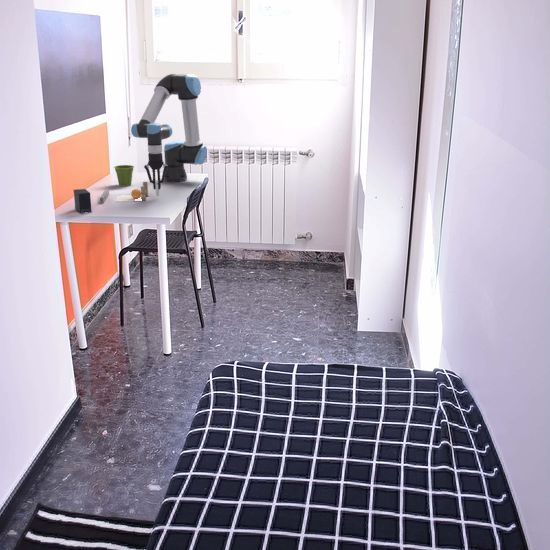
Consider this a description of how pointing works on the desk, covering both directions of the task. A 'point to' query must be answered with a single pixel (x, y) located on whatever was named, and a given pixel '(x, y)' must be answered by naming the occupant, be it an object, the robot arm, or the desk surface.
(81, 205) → the small box
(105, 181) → the desk surface
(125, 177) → the plant pot
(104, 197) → the stopper wall
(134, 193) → the ball
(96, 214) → the desk surface
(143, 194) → the post
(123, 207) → the desk surface
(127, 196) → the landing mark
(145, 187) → the post
